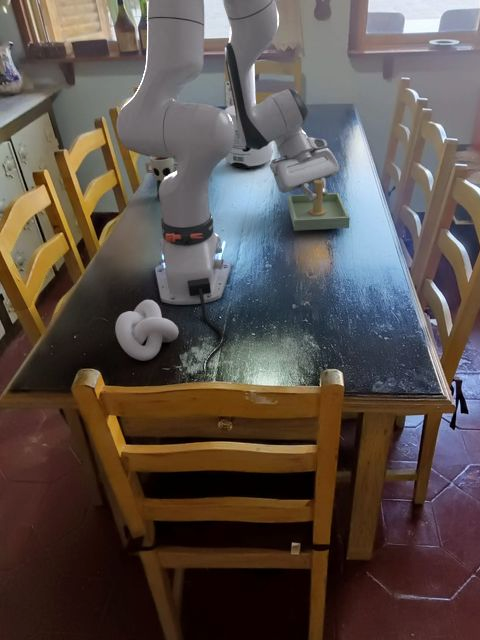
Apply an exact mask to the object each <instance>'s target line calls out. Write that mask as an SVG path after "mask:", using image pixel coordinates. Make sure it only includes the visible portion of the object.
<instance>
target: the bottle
mask: <svg viewBox="0 0 480 640" xmlns="http://www.w3.org/2000/svg"><path fill="white" fill-rule="evenodd" d="M255 69H256V68H255V63H254V64H253V66H252V67H251V69H250V71H249V74H248V87H249V93H250V98H251V104H257V101H256V73H255V72H256V71H255Z"/></svg>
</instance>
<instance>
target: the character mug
mask: <svg viewBox="0 0 480 640" xmlns="http://www.w3.org/2000/svg"><path fill="white" fill-rule="evenodd" d="M149 166H150V167H149ZM176 166H177V161H175V159H173V158H163V157H151V156H149V161H147V162H144V167H145V171H146V173H148V174H151V175H152V177H153V179H154V180H157V181H156V190H157V191H156V193H157V199H159V193H158V191H159V186H160V184H161V182H162V180H163V179H164V178H165V177H167V176H168V175H170V174H171V173H173V172H175V171H177V169H176ZM150 168H151V169H150Z"/></svg>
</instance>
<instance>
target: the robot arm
mask: <svg viewBox="0 0 480 640" xmlns="http://www.w3.org/2000/svg"><path fill="white" fill-rule="evenodd" d="M222 4H223V7H224V10H225V13H226V16H227V20H228V23H229V39H228V42H227V44H226V45H225V47H224V60H225V66H226V71H227V77H228V82H230V87H231V92H232V97H233V102H234V107H235V113H236V120H237V129H238V133H239V136H240V138H241V140H242V142H243V143H244V145H245V146H246V147H249V148H252V149H256V150H260V149H261V148H263V147H264V146H266V145H267V144H269V143H270V142H272V143H273V141H274V142H275V144H276V148H277V149H276V150H277V152H278V153H279V156H280V157H278V158H274V159H271V161H270V163H269V167H270V170H271V172H272V174H273V178H274V180H275V183H276V186H277V188H278V190H279V191H280V192H281V193H283V194H287V193H289V192H292V191H295V190H298V189H299V190H300V191H301V193H302V194H303V195H304V194H306V195H307V196H308V197H309V199H310V201H312V200H315V199H316V198H317V195H316V193H315V191H314V192H313V191H312V189H310V188H309V187H310V186H311V185H314V181H315V180H322V181H323V196H326V195H327V194H328V193H329V192H328V190H327V180H328V179H331V178H334V177H335V176H336V175H337V174H338V173H340V165H339V162H338V160H337V159H336V156H335V155H334V153H333V152H332V150H331V149H329V148H328V143H327V140H326V139H324V138H315V137H310V136H308V135H307V133H306V132H305V131H304V130H303V128H302V126H303V125H304V124H305V122H306V120H307V117H308V113H309V110H308V108H307V106H306V104H305V102H304V100H303V98H302V96H301V94H300V92H298V91H297V90H295V89H291V88H287V89H283V90H281V91H279V92H274V93H271V94H269V95H268V96H266V97H265V98H264V100H263V101H262V102H259V103H256V104H257V105H255V106H252V104H251V98H250V93H249V87H248V74H249V71H250V69H251V67H252V66H253V64H254V65H255V63H256V62H257V60H258V59H259V58H260V56H261V55H262V54H263V53H264V52H265V51H267V49H269V47H270V46H271V44H272V42H273V41H274V39H275V37H276V35H277V32H278V29H279V23H280V20H279V19H280V18H279V17H280V16H279V11H278V7H277V2H276V0H222ZM146 9H147V10H146V12H147V13H146V16H147V17H146V20H147V21H146V24H147V27H146V28H147V31H146V32H147V33H146V35H147V38H146V39H147V40H146V62H145V68H144V69H145V70H144V73H143V77H142V79H141V82H140V85H139V86H138V89H137V90H136V92H135V94H134V95H133V96H132V97H131V98H130V100H129V101H127V103H125V104H124V105H123V106H122V107H121V109H120V110H119V113H118V115H117V118H116V131H117V136H118V139H119V141H120V144H122V146H123V147H124V148H125V149H126V150H127V151H130V152H132V153H136V154H139V155H142V156H145V157H150V156H151V157H163V158H173V159H174V160H175V162H177V165H176V166H177V168H176V170H177V171H175V172H173V173H171V174H170V175H168V176H167V177H165V178H164V179H163V180H162V182H161V184H160V186H159V191H158V193H159V198H158V200H159V206H160V210H161V216H162V217H161V219H160V220H161V221H160V223H161V231H162V236H161V237H160V239H159V240H158V242H159V248H160V254H161V260H159V265H157V266H156V267H155V268H154V273H155V277H156V283H157V287H158V293H159V297H160V301H161V302H162V303H165V304H168V305H180V306H181V305H182V306H186V305H188V306H189V305H200V307H201V308H200V309H201V314H202V317H203V319H204V321H205V323H207V325H208V326H210V327H211V328H212V329H213V330H214V331H216V332H217V333H218V334H219V336H220V340H219V343H218V344H217V345H216V347H217V346H218V345H219V344H220V342H221V339H222V337H223V341H222V343H221V344H220V346H219V347H218V348H217V349H216V350H215V351H214V352H213V353H212V354H211V355H210V353H209V354H208V355H207V356H206V358H207V357H208V356H209V355H210V357H209V358H208V360H207V362H206V369H207V371H208V372H209V373H210V371H209V370H208V365H209V362H210V360H211V359H212V358H213V357H214V356H215V355H216V354H217V353H218V352H219V351H220V350H221V349H222V347H223V345H224V343H225V338H226V336H225V333H224V331H223V330H222V329H221V328H220V327H219V326H217V325H216V324H215V323H213V322H212V321H211V320H210V318H209V317H208V315H207V310H206V303H211V302H215V301H216V300H219V299H221V298H222V296H223V293H224V290H225V287H226V284H227V282H228V279H229V275H230V273H231V270H232V263H231V262H229V261H226V260H224V257H223V255H224V254H223V253H224V252H223V251H224V249H225V246H226V241H225V240H223V242H222V238H221V236H219V235H218V234H217V233H216V232H215V231H214V229H215V228H214V219H213V214H212V213H211V209H210V182H211V181H210V180H211V177H212V174H213V172H214V170H215V168H216V167H217V166H218V164H219V163H221V161H223V160H224V159H225V157H226V156H227V155H228V154H229V153H230V151H231V149H232V147H233V145H234V141H235V127H234V123H233V121H232V118H231V117H230V115H229V114H228V112H227V111H226V110H225V109H223V108H221V107H216V106H214V105H211V104H206V103H197V102H179V96H180V94H181V91H182V90H183V88H184V87H185V86H186V85H187V84H189V83H191V82H192V81H194V80H195V79H197V78H198V77H199V76H200V74H201V73H202V70H203V69H204V63H205V62H204V59H205V58H204V57H205V0H147V8H146ZM206 358H205V359H204V361H203V364H202V371H203V373H204V375H205V371H204V363H205V360H206Z"/></svg>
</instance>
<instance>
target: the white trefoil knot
mask: <svg viewBox="0 0 480 640" xmlns="http://www.w3.org/2000/svg"><path fill="white" fill-rule="evenodd" d="M114 327H115V331H114V332H115V336H116V339H117V341H118V344H119V345H120V347H121V348H122V349H123V351H124V352H125V353H126V354H127V355H128V356H129V357H131V358H132V359H135V360H138V361H142V362H147V361H150V360H152V359H154V358H155V357H156V356H157V355H158V354H159V352H160V350H161V348H162V345H163V344H162V343H171V342H173V341H175V340H176V339H177V338H178V336H179V333H180V331H179V328H178V326H177V325H176V324H175V323H174V322H173V321H172V320H170V319H168V318H165V317H163V316H162V311H161V308H160V306H159V304H158V303H157V302H155V301H154V300H153V299H144V300H143V301H141V302H140V303H139V304H137V305H136V307H135V308H134V310H133V311H131V310H128V311H125V312H122V313H121V314H120V315H119V316H118V317H117V319H116V321H115V326H114ZM145 341H146V343H145ZM144 343H145V344H144ZM143 344H144V345H143Z"/></svg>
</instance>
